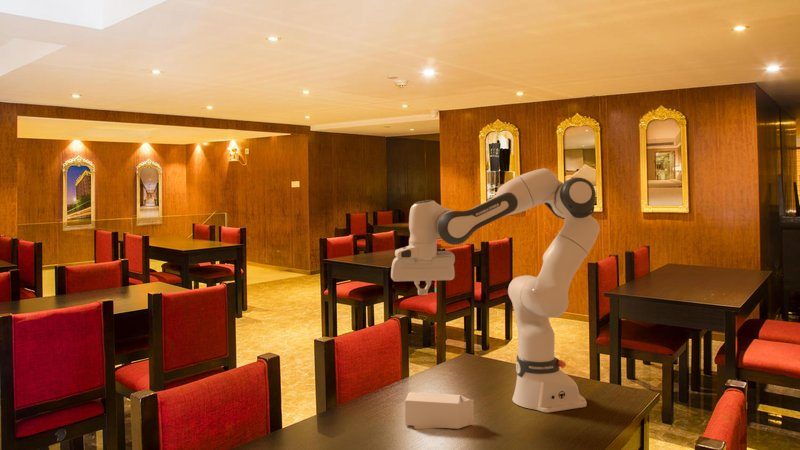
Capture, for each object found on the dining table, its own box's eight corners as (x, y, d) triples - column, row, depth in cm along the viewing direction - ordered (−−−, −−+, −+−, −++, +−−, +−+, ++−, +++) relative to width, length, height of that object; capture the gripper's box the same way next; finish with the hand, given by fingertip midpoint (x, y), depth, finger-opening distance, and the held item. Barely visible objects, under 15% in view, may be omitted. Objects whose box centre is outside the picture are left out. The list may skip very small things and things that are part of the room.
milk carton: (404, 425, 163) (472, 429, 160) (404, 400, 163) (472, 404, 160) (408, 415, 170) (474, 419, 167) (408, 391, 170) (474, 395, 167)
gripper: (452, 249, 189) (452, 292, 190) (390, 250, 186) (390, 293, 187) (457, 251, 183) (457, 295, 184) (392, 252, 180) (392, 297, 181)
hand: (422, 294), depth 185 cm, fingers closed
